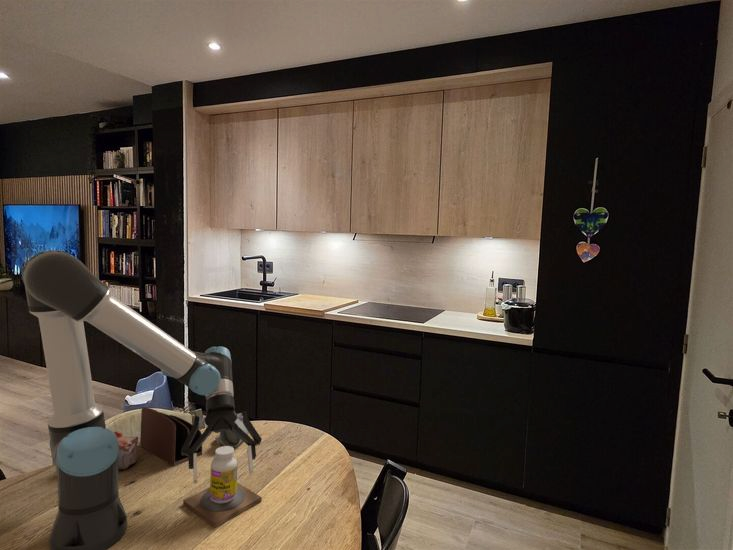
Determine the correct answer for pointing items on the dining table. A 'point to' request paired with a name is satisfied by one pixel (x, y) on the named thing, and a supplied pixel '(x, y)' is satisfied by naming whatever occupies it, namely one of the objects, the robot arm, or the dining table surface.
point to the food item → (126, 450)
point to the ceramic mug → (231, 436)
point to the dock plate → (221, 505)
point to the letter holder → (166, 436)
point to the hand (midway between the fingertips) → (223, 477)
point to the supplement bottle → (223, 475)
